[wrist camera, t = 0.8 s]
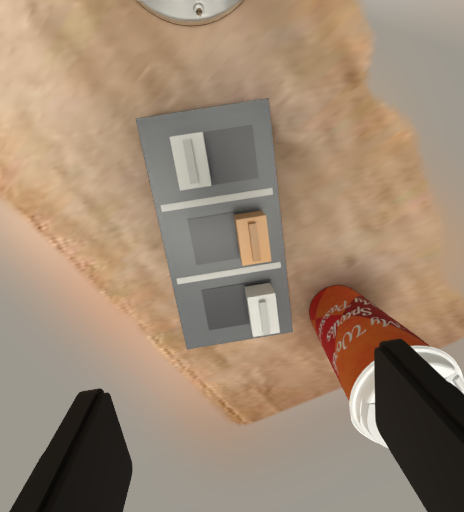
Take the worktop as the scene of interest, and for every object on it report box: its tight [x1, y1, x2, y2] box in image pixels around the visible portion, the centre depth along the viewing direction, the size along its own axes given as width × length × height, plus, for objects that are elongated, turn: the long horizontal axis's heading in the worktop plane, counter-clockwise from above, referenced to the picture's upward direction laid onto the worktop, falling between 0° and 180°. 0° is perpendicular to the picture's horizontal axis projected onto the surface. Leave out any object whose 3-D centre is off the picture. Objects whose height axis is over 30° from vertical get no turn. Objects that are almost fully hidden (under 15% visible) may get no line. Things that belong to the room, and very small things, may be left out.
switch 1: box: [170, 132, 212, 191], centre depth 25 cm, size 4×2×3 cm, turn 8°
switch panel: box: [136, 98, 293, 349], centre depth 30 cm, size 22×11×3 cm, turn 8°
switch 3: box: [245, 283, 280, 337], centre depth 29 cm, size 4×2×3 cm, turn 8°
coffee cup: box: [309, 285, 464, 448], centre depth 28 cm, size 8×8×15 cm
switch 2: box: [234, 211, 271, 266], centre depth 27 cm, size 4×2×3 cm, turn 8°
